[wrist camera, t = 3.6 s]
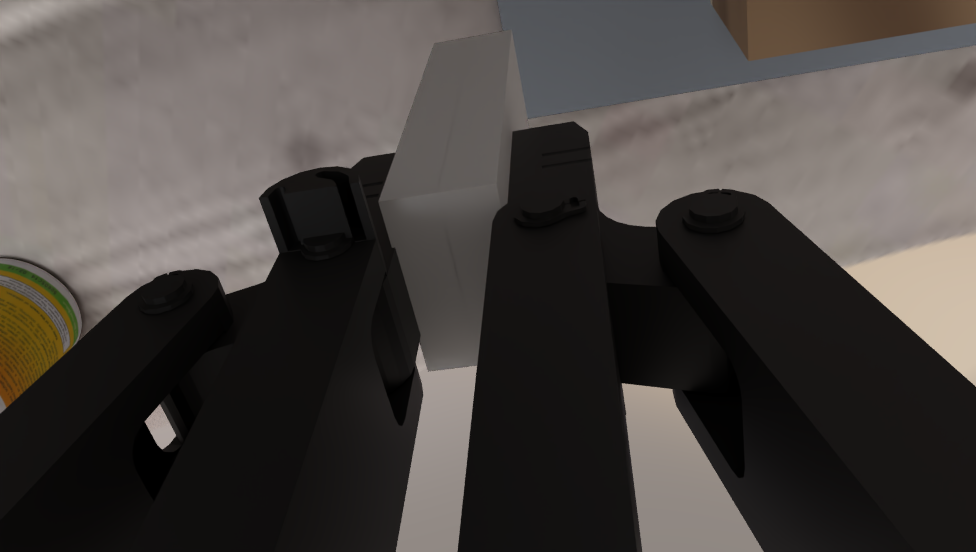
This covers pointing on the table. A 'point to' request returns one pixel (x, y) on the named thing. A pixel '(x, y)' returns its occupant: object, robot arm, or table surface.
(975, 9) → the walnut cube
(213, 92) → the table surface
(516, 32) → the mat
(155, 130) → the table surface
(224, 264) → the table surface
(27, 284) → the supplement bottle
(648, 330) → the robot arm
